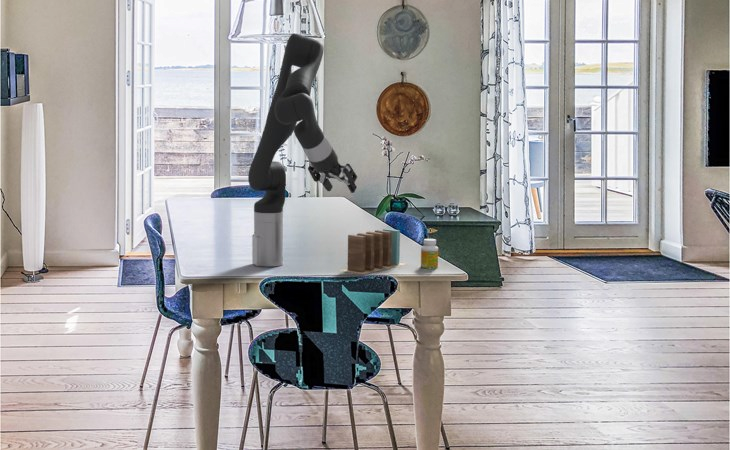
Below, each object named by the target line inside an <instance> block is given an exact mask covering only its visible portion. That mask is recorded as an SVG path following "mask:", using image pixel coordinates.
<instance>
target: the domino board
mask: <svg viewBox="0 0 730 450" xmlns="http://www.w3.org/2000/svg"><path fill="white" fill-rule="evenodd" d="M404 265H406V263H405V262H399V264H398V265H395V264H391V266H389V267H387V266H383V268H380V269H379V268H374V270H371V271H370V270H365V272H362V273H361V272H355V271H349V270H348V268H344V269H340V270H338V271H339V272H345V273H349V274H355V275H366V274H370V273H373V272H378V271H384V270H387V269H392V268H396V267H401V266H404Z"/></svg>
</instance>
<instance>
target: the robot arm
mask: <svg viewBox="0 0 730 450" xmlns="http://www.w3.org/2000/svg"><path fill="white" fill-rule="evenodd" d="M324 49H325V48H324V44H323V42H321V41H320V40H318V39H315V38H312V37H308V36H305V35H302V34H298V33H291V35H290V36H289V37H288V40H287V43H286V45H285V49H284V53H283V57H282V62H281V66H280V70H279V75H278V79H277V84H276V85H275V86H276V87H275V90H274V92H273V97H272V100H271V102H270V105H269V109H268V113H267V117H266V120H265V124H264V127H263V131H262V134H261V137H260V141H259V144H258V147H257V149H256V151H255V154H254V156H253V158H252V161H251V164H250V167H249V170H248V177H247V178H248V185H249V187H250V188H251V189H252V190H253V191H256V192H257V191H258V192H265V194H264V196H263V197H261V199H259V200H257V201H255V202H254V204H253V231H254V232H253V234H252V235H251V238H252V239H251V240H252V241H251V242H252V243H251V245H252V246H251V247H252V252H251V253H252V255H251V256H252V258H251V259H252V262H251V263H252V264H253V265H255V266H256V267H279V266H282V265H284V264H283V262H284V261H283V260H284V255H283V254H284V244H283V243H284V228H283V227H284V206H285V202H286V190H287V174H286V169H285V167H284V165H283V164H282V163H281V162H279V161H273V160H274V158H275V155H276V154H277V152H278V151H279V150H280V148H281V147H282V146H283V145H284V144H285V143H286V141H287V140H288V139H289V138H290V137H291V135H292V134H293V133H294V136H295V138H296V139H297V140H298V142H299V144H300V146H301V147H302V150H303V152H304V154H305V156H306V158H307V159H308V161H309V163H310V164H309V165H308V167H307V170H308V172H309V174H310V176H311V178H312V180H313V182H317V183H318V182H319V183H320V184H322V186H323V188H324V189H325V190H326V191H327V192H331V191H332V189H333V185H332V182H331V181H330V180H329V179H336V180H337V181H339V182H341V183H344V184H345V185H346V186H347V188H348V190H349V191H350V193H351V194H354V193H355V191H357V185H356V182H357V179H358V175H357V174H356V172H355V170H354V169H353V167H352V166H351V164H349V163H346V164H345V165H342V164H341V163H340V162H339V158H338V157H339V156H338V154H337V153H336V151H335V149H334V148H333V146H332V144H331V142H330V141H329V139H328V138H327V136H326V135H325V134H324V131H322V129H321V127H320V125H319V123H318V120H317V116H316V113H315V107H314V103H313V100H312V97H311V92H312V87H313V82H314V81H315V78H316V76H317V73H318V71H319V68H320V66H321V63H322V59H323V56H324V51H325V50H324ZM293 66H294V67H297V69H296V70H294V71H293V72H292V67H293ZM297 122H298V123H297ZM341 174H342V175H341ZM346 178H347V179H346Z"/></svg>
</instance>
